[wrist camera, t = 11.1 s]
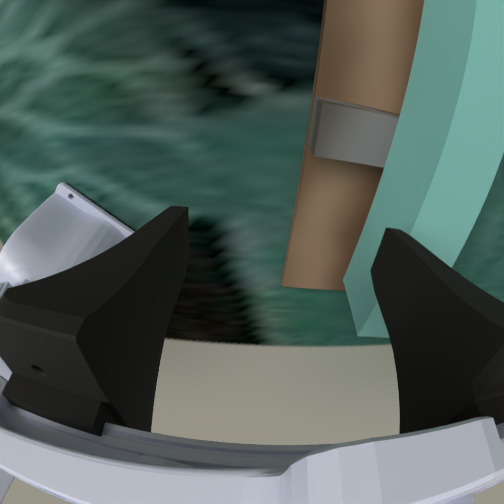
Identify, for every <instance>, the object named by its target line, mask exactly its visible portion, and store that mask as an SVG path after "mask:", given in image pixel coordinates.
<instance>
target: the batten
mask: <svg viewBox="0 0 504 504" xmlns="http://www.w3.org/2000/svg"><path fill="white" fill-rule="evenodd" d="M503 153H504V0H424V6H423V12H422V18H421V24H420V29H419V35H418V40H417V45H416V50H415V55H414V59H413V64H412V68H411V73H410V77H409V81H408V85H407V89H406V93H405V97H404V101H403V105H402V109H401V113H400V116H399V120H398V123H397V127H396V131H395V134H394V137H393V141H392V144H391V148H390V151H389V154H388V157H387V161H386V164H385V167H384V170H383V173H382V176H381V179H380V182H379V185H378V188H377V191H376V194H375V197H374V200H373V203H372V206H371V208H370V211H369V214H368V217H367V219H366V222H365V225H364V228H363V230H362V233H361V236H360V238H359V241H358V243H357V246H356V249H355V251H354V254H353V256H352V259H351V261H350V264H349V266H348V269H347V271H346V274H345V276H344V278H343V282H344V286H345V289H346V293H347V296H348V300H349V304H350V308H351V311H352V315H353V319H354V323H355V327H356V331H357V335H358V336H364V337H385V338H390V337H389V334H388V331H387V328H386V325H385V322H384V319H383V316H382V313H381V310H380V307H379V304H378V301H377V298H376V295H375V292H374V287H373V283H372V277H371V272H370V270H371V267H372V265H373V262H374V259H375V257H376V254H377V251H378V249H379V246H380V243H381V240H382V237H383V235H384V232H385V229H386V227H387V228H395V229H400V230H402V231H404V232H406V233H407V234H409V235H410V236H411V237H413V238H414V239H416V240H417V241H418V242H419V243H421V244H422V245H423V246H425V247H426V248H427V249H428V250H430V251H431V252H432V253H433V254H434V255H436V256H437V257H438V258H439V259H441V260H442V261H443V262H444V263H446V264H447V265H448V266H450V267H451V268H452V266H453V264H454V262H455V261H456V259H457V257H458V255H459V253H460V251H461V249H462V248H463V246H464V244H465V242H466V240H467V238H468V236H469V234H470V232H471V230H472V228H473V226H474V223H475V221H476V219H477V217H478V215H479V213H480V211H481V208H482V206H483V204H484V201H485V199H486V197H487V194H488V192H489V190H490V187H491V185H492V182H493V180H494V177H495V175H496V172H497V169H498V167H499V164H500V161H501V158H502V156H503Z"/></svg>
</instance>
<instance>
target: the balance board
mask: <svg viewBox="0 0 504 504" xmlns="http://www.w3.org/2000/svg"><path fill="white" fill-rule="evenodd" d="M423 6H424V0H324V8H323V16H322V25H321V33H320V41H319V49H318V57H317V65H316V72H315V79H314V87H313V94H312V101H311V108H310V114H309V121H308V128H307V134H306V141H305V147H304V153H303V160H302V166H301V172H300V178H299V184H298V190H297V196H296V202H295V207H294V213H293V219H292V224H291V230H290V236H289V241H288V246H287V252H286V257H285V262H284V268H283V273H282V286H284V287H296V288H310V289H324V290H339V291H346V289H345V286H344V282H343V278H344V276H345V274H346V271H347V269H348V266H349V264H350V261H351V259H352V256H353V254H354V251H355V249H356V246H357V243H358V241H359V238H360V236H361V233H362V230H363V228H364V225H365V222H366V219H367V217H368V214H369V211H370V208H371V206H372V203H373V200H374V197H375V194H376V191H377V188H378V185H379V182H380V179H381V176H382V173H383V170H384V167H385V164H386V161H387V157H388V154H389V151H390V148H391V144H392V141H393V137H394V134H395V131H396V127H397V123H398V120H399V116H400V113H401V109H402V105H403V101H404V97H405V93H406V89H407V85H408V81H409V77H410V73H411V68H412V64H413V59H414V55H415V50H416V45H417V40H418V35H419V29H420V24H421V18H422V12H423Z"/></svg>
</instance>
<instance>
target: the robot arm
mask: <svg viewBox="0 0 504 504" xmlns="http://www.w3.org/2000/svg"><path fill="white" fill-rule="evenodd" d="M71 194H72V195H73V197H72V196H71ZM188 259H189V221H188V207H181V206H170V207H169V208H167V209H166V210H164V211H163V212H162V213H160V214H159V215H158V216H156V217H155V218H154V219H152V220H151V221H150V222H148V223H147V224H145V225H144V226H143V227H141V228H140V229H139V230H137V231H136V232H135V231H133V230H132V229H130V228H129V227H127V226H126V225H124V224H123V223H121V222H120V221H118V220H117V219H116V218H114V217H113V216H111V215H110V214H108V213H107V212H105V211H104V210H102V209H101V208H100V207H98V206H97V205H95V204H94V203H92V202H91V201H90V200H88V199H87V198H85V197H84V196H83V195H81V194H80V193H78V192H77V191H76V190H74V189H73V188H71V187H70V186H69V185H67V184H66V183H64V182H62V183H60V184H59V185H58V186H57V188H56V191H55V193H54V194H52V195H51V196H50V197H49V198H48V199H47V200H46V201H45V202H44V203H43V204H42V205H40V206H39V207H38V208H37V209H36V210H35V211H34V212H33V213H32V214H31V215H30V216H29V217H28V218H27V219H26V220H25V221H24V222H23V223H22V224H21V225H20V226H19V227H18V228H17V229H16V230H15V231H14V233H13V234H12V235H11V236H10V238H9V239H8V241H7V242H6V244H5V245H4V247H3V249H2V251H1V252H0V504H1V503H2V501H3V499H4V497H5V495H6V493H7V492H8V490H9V488H10V485H11V484H12V482H13V480H14V478H15V477H17V478H18V479H20V480H22V481H24V482H26V483H28V484H30V485H32V486H35V487H36V488H38V489H41V490H43V491H45V492H47V493H49V494H52V495H54V496H56V497H59V498H61V499H63V500H66V501H68V502H71V503H74V504H474V499H473V495H474V494H477V493H479V492H481V491H483V490H485V489H487V488H489V487H491V486H493V485H495V484H497V483H499V482H501V481H503V480H504V302H502V301H500V300H498V299H497V298H495V297H493V296H491V295H490V294H488V293H486V292H485V291H483V290H482V289H480V288H479V287H477V286H476V285H474V284H473V283H471V282H470V281H468V280H467V279H466V278H464V277H463V276H461V275H460V274H459V273H457V272H456V271H455V270H454V269H452V268H451V267H450V266H448V265H447V264H446V263H444V262H443V261H442V260H441V259H439V258H438V257H437V256H436V255H434V254H433V253H432V252H431V251H430V250H428V249H427V248H426V247H425V246H423V245H422V244H421V243H419V242H418V241H417V240H416V239H414V238H413V237H411V236H410V235H409V234H407V233H406V232H404V231H402V230H400V229H395V228H387V227H386V229H385V232H384V235H383V237H382V240H381V243H380V246H379V249H378V251H377V254H376V257H375V259H374V262H373V265H372V267H371V270H370V272H371V277H372V283H373V287H374V292H375V295H376V298H377V301H378V304H379V307H380V310H381V313H382V316H383V319H384V322H385V325H386V328H387V331H388V334H389V337H390V341H391V345H392V348H393V353H394V359H395V365H396V372H397V379H398V389H399V405H400V434H397V435H392V436H384V437H376V438H368V439H363V440H357V441H352V442H345V443H339V444H322V445H255V444H237V443H224V442H213V441H204V440H196V439H188V438H181V437H175V436H168V435H162V434H157V433H151V425H152V415H153V414H152V413H153V406H154V398H155V390H156V383H157V377H158V371H159V365H160V359H161V354H162V348H163V343H164V339H165V335H166V331H167V328H168V325H169V322H170V319H171V316H172V313H173V310H174V307H175V304H176V301H177V298H178V295H179V292H180V290H181V287H182V284H183V281H184V278H185V273H186V269H187V264H188Z"/></svg>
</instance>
